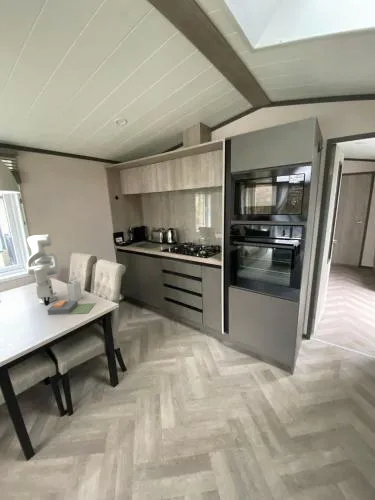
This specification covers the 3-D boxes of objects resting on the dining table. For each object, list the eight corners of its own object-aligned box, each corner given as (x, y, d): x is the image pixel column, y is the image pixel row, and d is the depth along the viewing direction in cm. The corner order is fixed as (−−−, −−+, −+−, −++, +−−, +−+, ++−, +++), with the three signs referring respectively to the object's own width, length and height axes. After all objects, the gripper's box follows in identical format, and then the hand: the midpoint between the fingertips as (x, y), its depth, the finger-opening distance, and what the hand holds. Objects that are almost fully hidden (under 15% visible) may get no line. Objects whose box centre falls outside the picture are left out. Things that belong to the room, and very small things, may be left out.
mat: (78, 304, 180) (78, 303, 180) (95, 303, 180) (95, 303, 180) (68, 314, 165) (68, 313, 165) (87, 313, 165) (87, 312, 165)
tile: (59, 303, 175) (58, 300, 175) (66, 302, 175) (66, 300, 175) (53, 307, 167) (53, 305, 167) (61, 307, 168) (61, 305, 167)
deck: (58, 305, 179) (57, 301, 178) (78, 304, 179) (77, 300, 178) (48, 314, 165) (47, 310, 165) (69, 313, 166) (68, 308, 165)
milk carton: (69, 300, 188) (65, 279, 184) (76, 297, 195) (72, 276, 190) (76, 301, 186) (72, 280, 182) (82, 297, 193) (79, 277, 188)
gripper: (55, 280, 171) (59, 302, 175) (36, 281, 170) (40, 303, 175) (49, 284, 163) (54, 306, 167) (29, 285, 163) (34, 307, 167)
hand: (47, 304), depth 171 cm, fingers closed
